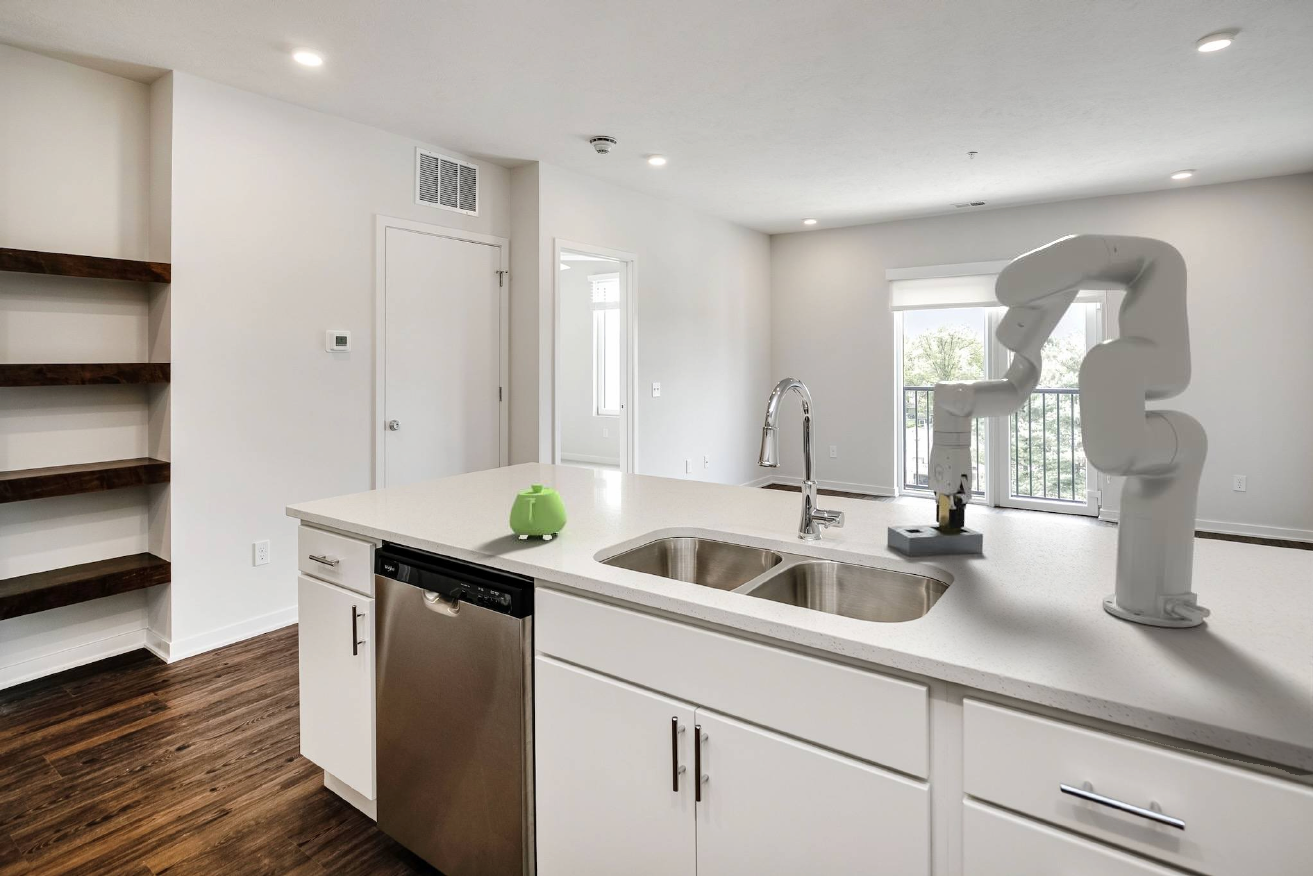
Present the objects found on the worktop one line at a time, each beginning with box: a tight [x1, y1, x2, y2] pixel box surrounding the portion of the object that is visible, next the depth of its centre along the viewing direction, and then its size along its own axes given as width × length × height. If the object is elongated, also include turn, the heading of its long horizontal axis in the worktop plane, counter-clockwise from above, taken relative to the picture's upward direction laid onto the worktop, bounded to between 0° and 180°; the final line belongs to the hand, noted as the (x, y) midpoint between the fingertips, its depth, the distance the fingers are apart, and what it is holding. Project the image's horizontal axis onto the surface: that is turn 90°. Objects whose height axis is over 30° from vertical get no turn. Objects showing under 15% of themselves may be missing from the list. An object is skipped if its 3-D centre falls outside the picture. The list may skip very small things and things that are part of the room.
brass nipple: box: [938, 491, 961, 533], centre depth 146 cm, size 4×4×12 cm
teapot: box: [509, 483, 568, 536], centre depth 165 cm, size 20×13×13 cm
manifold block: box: [887, 523, 984, 558], centre depth 146 cm, size 10×16×4 cm, turn 96°
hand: (950, 523), depth 146 cm, fingers closed on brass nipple, 4 cm apart
